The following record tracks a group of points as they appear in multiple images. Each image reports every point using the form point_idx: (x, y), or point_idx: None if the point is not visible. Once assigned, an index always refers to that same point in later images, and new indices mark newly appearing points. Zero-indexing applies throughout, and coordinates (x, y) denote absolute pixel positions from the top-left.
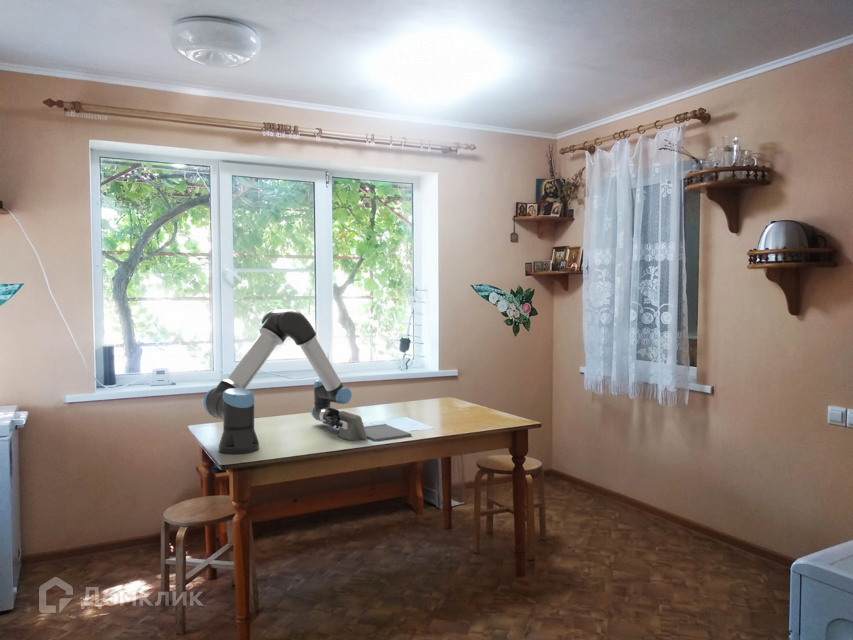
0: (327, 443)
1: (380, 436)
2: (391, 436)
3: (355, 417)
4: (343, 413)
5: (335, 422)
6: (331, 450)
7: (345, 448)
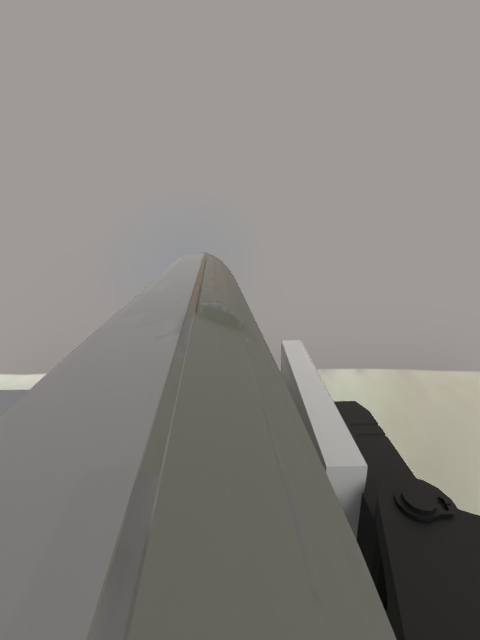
0: (473, 482)
1: None
2: (22, 392)
3: (225, 265)
4: (250, 334)
5: (465, 516)
6: (410, 370)
7: (338, 371)
